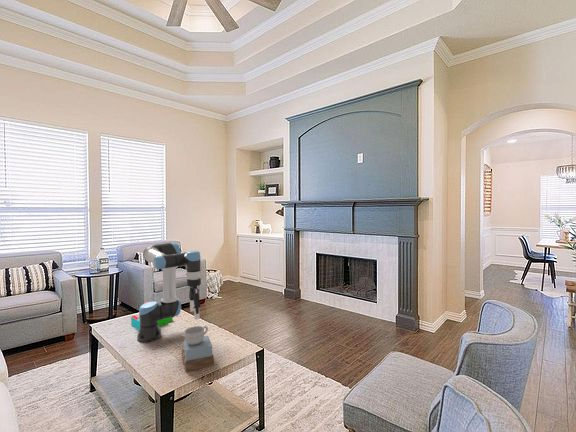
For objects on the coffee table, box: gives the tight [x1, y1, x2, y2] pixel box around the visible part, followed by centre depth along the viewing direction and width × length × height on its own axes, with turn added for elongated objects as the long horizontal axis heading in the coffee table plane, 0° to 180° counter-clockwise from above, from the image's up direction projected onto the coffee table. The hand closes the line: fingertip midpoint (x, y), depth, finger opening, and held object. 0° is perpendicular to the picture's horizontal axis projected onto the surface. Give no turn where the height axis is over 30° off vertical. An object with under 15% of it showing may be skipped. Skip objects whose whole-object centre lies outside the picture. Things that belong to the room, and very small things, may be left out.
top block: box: [183, 335, 213, 361], centre depth 174 cm, size 14×14×6 cm
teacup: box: [184, 325, 209, 345], centre depth 175 cm, size 14×11×8 cm
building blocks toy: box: [130, 301, 174, 331], centre depth 234 cm, size 19×25×18 cm
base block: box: [181, 349, 215, 373], centre depth 174 cm, size 15×15×6 cm
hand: (194, 315), depth 173 cm, fingers open, 13 cm apart
